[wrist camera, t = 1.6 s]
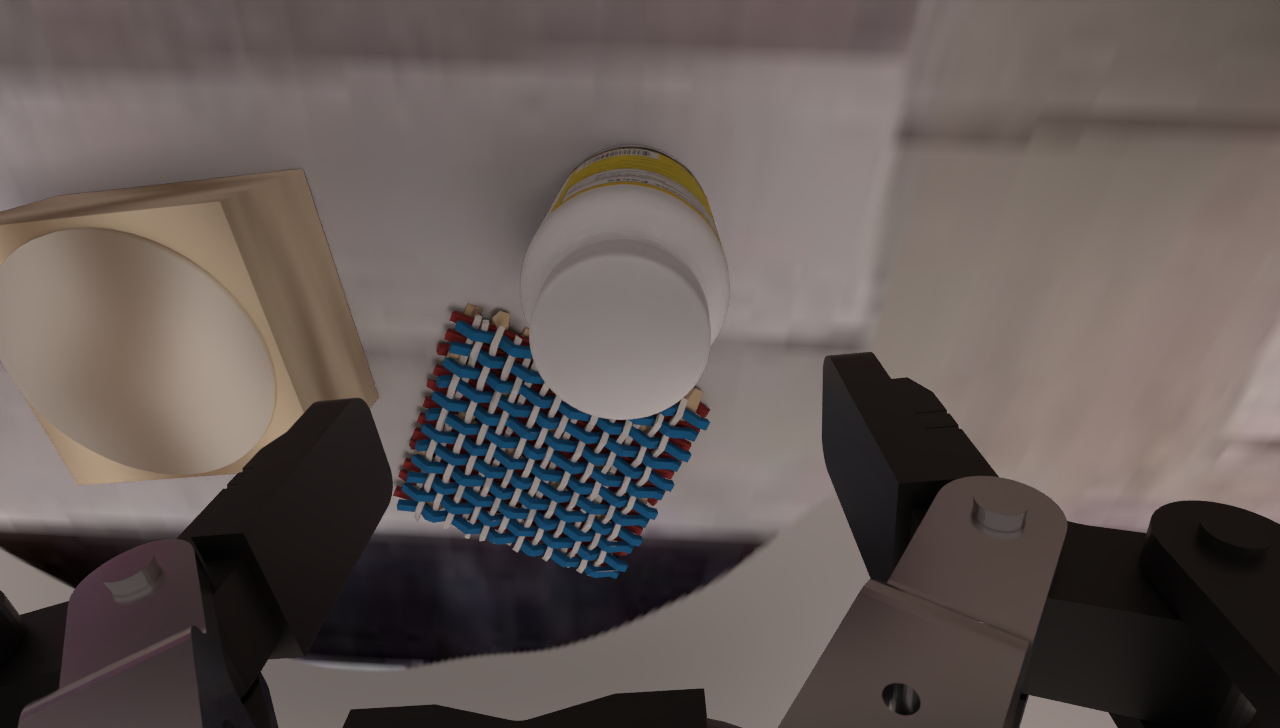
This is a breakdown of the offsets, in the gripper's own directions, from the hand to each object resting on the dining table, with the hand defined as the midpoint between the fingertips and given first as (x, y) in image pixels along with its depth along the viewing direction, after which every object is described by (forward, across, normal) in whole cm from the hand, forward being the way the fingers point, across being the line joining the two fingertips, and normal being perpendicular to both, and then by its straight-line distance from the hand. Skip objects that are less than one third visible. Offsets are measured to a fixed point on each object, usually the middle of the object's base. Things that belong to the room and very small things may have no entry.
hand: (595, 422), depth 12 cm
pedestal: (+13, +15, +1) cm, 20 cm away
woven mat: (+14, +4, +9) cm, 17 cm away
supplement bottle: (+13, 0, 0) cm, 13 cm away
